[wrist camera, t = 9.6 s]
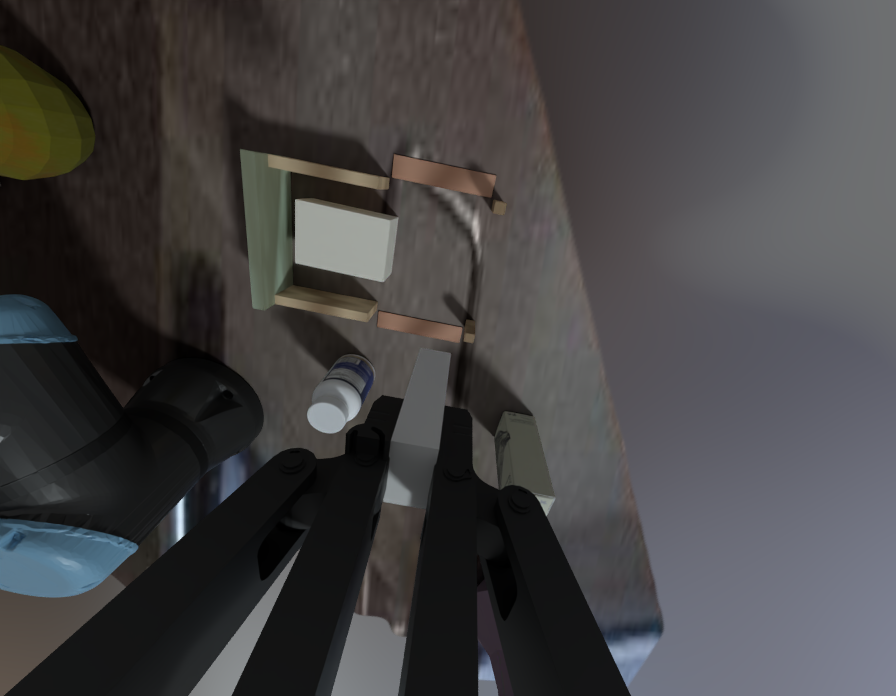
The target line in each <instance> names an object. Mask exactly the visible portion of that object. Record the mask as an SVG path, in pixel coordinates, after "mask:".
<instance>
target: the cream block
mask: <svg viewBox="0 0 896 696" xmlns="http://www.w3.org/2000/svg"><path fill="white" fill-rule="evenodd" d="M397 225H398V217H395V216H391V215H386V214H382V213H377V212H373V211H368V210H364V209H360V208H355V207H351V206H346V205H342V204H337V203H333V202H328V201H324V200H320V199H315V198H305V199H295V263H297V264H302V265H306V266H311V267H315V268H320V269H325V270H329V271H334V272H338V273H343V274H348V275H352V276H357V277H361V278H366V279H370V280H375V281H380V282H384V281H385V280H386V279H387V278H388V277H389V276H390V274H391V272H392V264H393V256H394V248H395V241H396V233H397Z"/></svg>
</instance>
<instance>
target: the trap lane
mask: <svg viewBox="0 0 896 696" xmlns="http://www.w3.org/2000/svg"><path fill="white" fill-rule="evenodd" d="M240 156H241V169H242V181H243V194H244V206H245V219H246V231H247V244H248V256H249V269H250V281H251V293H252V306H253V308H255V309H260V310H266V309H268V308H269V307H271V306H273V305H274V304H277V305H282V306H288V307H293V308H298V309H303V310H308V311H313V312H318V313H323V314H328V315H333V316H338V317H343V318H348V319H353V320H358V321H363V322H368V321H369V319H370V318H371V317H372V315H373V314H374V313H375V312H376V310H377V304H378V302H376V301H371V300H366V299H361V298H356V297H351V296H346V295H341V294H336V293H331V292H326V291H321V290H316V289H311V288H306V287H301V286H296V285H293V255H292V210H291V172H296V173H301V174H306V175H311V176H315V177H320V178H325V179H330V180H335V181H340V182H345V183H349V184H354V185H359V186H364V187H369V188H374V189H389V178H387V177H382V176H377V175H372V174H367V173H363V172H358V171H353V170H348V169H343V168H338V167H333V166H329V165H324V164H319V163H314V162H309V161H304V160H300V159H295V158H290V157H285V156H280V155H274V154H268V153H262V152H256V151H249V150H243V149H240ZM392 178H397V179H402V180H407V181H412V182H416V183H421V184H426V185H431V186H436V187H441V188H445V189H450V190H455V191H460V192H465V193H470V194H475V195H479V196H484V197H489V198H491V197H492V192H493V188H494V183H495V179H496V175H491V174H486V173H481V172H476V171H472V170H467V169H462V168H457V167H452V166H448V165H443V164H438V163H433V162H428V161H423V160H419V159H414V158H409V157H404V156H399V155H395V154H394V161H393V171H392ZM506 205H507V203H505V202H503V201H498V200H493V204H492V208H491V211H492V212H493V213H495V214H500V215H504V213H505V209H506ZM377 327H381V328H386V329H391V330H396V331H401V332H406V333H411V334H416V335H421V336H426V337H432V338H437V339H442V340H447V341H452V342H457V343H459V341H460V337H461V332H462V327H457V326H452V325H447V324H442V323H437V322H432V321H427V320H422V319H417V318H412V317H407V316H402V315H397V314H392V313H387V312H382V311H379V314H378V324H377ZM474 337H475V321H472V320H467V319H466V324H465V331H464V341H465V342H470V343H473V341H474Z"/></svg>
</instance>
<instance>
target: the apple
mask: <svg viewBox="0 0 896 696" xmlns="http://www.w3.org/2000/svg"><path fill="white" fill-rule="evenodd" d="M94 142H95V133H94V129H93V124H92V120H91V118H90V116H89V114H88V113H87V111H86V109H85V108H84V106H83V104H82V103H81V101H80V100H79V99H78V97H77V96H76V95H75V94H74V93H73V92H72V91H71V90H70V89H69V88H68V87H67V85H66V84H64V83H63V82H61V81H60V80H58V79H57V78H55V77H54V76H52V75H51V74H49V73H48V72H46V71H45V70H43V69H42V68H40V67H39V66H37V65H36V64H34V63H33V62H31V61H30V60H28V59H27V58H25V57H24V56H22V55H21V54H19V53H18V52H16V51H15V50H12V49H9V48H7V47H4V46H2V45H0V175H1V176H5V177H10V178H15V179H20V180H29V179H37V178H45V177H54V176H57V175H61V174H64V173H68V172H70V171H72V170H73V169H74V168H76V167H77V166H79V165H80V164H82V163H83V162H84V161H86V160H87V158H88V157H89V156H90V154H91V153H92V152H93V148H94Z"/></svg>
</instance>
